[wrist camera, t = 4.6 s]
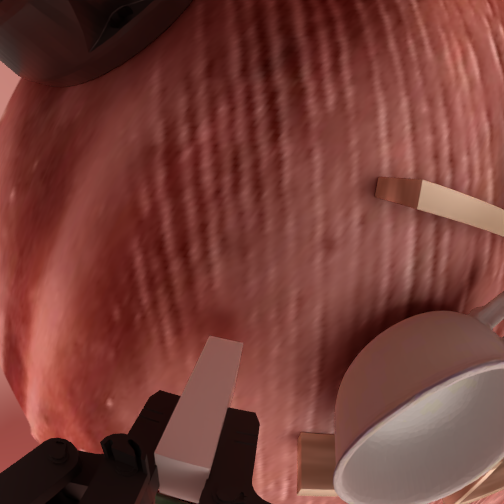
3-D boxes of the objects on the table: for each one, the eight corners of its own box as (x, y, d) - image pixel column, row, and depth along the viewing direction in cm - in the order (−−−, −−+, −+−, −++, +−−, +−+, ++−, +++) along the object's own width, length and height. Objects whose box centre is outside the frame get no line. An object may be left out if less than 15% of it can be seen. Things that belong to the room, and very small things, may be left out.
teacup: (383, 441, 17) (403, 523, 10) (284, 376, 16) (279, 490, 9) (520, 316, 14) (584, 372, 6) (457, 205, 13) (564, 237, 5)
